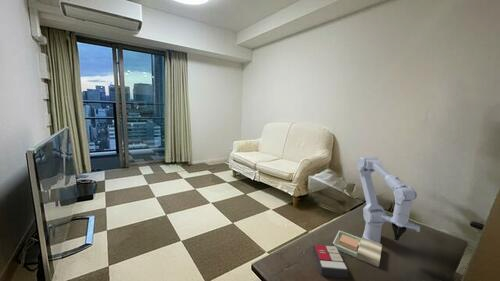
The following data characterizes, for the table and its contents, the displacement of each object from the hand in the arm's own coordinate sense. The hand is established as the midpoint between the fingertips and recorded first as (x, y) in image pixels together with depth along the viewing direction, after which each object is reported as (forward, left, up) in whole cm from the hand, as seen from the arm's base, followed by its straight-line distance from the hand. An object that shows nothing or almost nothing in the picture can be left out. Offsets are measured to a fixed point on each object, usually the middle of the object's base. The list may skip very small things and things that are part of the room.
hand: (396, 239), depth 95 cm
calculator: (+23, -23, -10) cm, 34 cm away
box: (+5, -20, -9) cm, 22 cm away
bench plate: (+5, -10, -9) cm, 14 cm away
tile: (+5, -19, -9) cm, 21 cm away
